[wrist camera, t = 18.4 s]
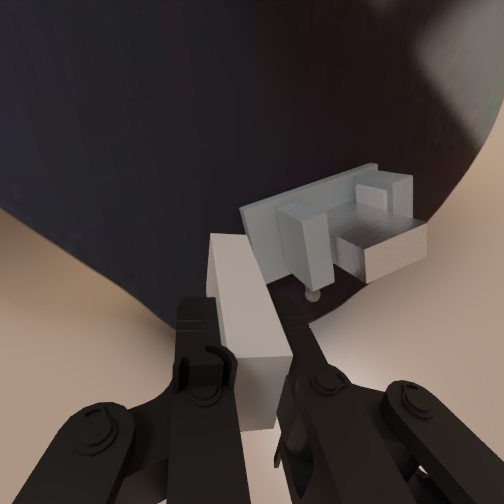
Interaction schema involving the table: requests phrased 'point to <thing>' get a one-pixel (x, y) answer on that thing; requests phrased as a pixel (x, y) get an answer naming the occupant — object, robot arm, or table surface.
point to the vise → (322, 208)
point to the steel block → (373, 240)
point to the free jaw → (306, 246)
